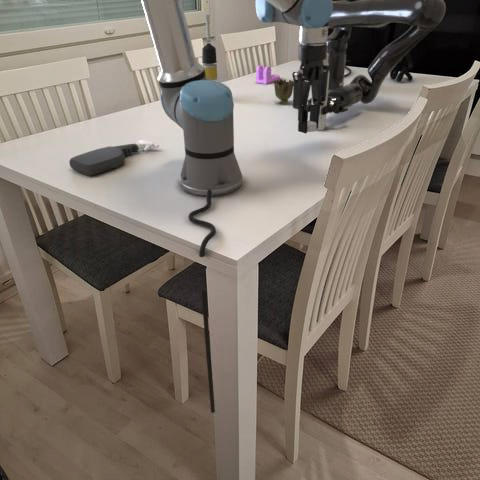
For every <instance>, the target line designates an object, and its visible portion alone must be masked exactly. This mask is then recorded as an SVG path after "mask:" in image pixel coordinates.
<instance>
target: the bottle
mask: <svg viewBox="0 0 480 480" xmlns="http://www.w3.org/2000/svg"><path fill="white" fill-rule="evenodd" d="M328 56H329V54H328V53H327V56H326V59H325V60H323V63H324V65H328V66H329V63H328ZM329 72H330V71H329ZM329 72H328V78H327V90H326V100H325V102H322V103H324V105H323V106H320V114H319V122H318V129H316V131H324V130H325V129H326V120H327V114H325V115H321V108H322V107H325V106H327V98H328V86H329V75H330V74H329ZM321 97H322V96H321ZM312 105H314V104H313V102H312Z"/></svg>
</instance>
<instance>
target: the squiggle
mask: <svg viewBox="0 0 480 480" xmlns="http://www.w3.org/2000/svg"><path fill="white" fill-rule="evenodd" d="M406 62H407V65H408V66H407V67H405V66H404V65H405V64H406ZM413 68H414V64H413V61H412V57H411V54H410V53H409V52H408V53H407V54H406V55H405V56H404V57H403V58H402V59H401V60H400V61H399V62H398V63H397V64H396V65H395V67H394V68H393V69H392V70H391V72H390V73H389V78H390V79H391V80H395V79H396V81H397V82H399V83H400V82H402V81H403V79H404V76H406V78H407V80H408V81H412V80H413V79H414V77H413V75H412V74H411V73H410V72H409V71H410V70H412V69H413ZM400 70H401V71H400Z"/></svg>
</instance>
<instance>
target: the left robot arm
mask: <svg viewBox="0 0 480 480" xmlns="http://www.w3.org/2000/svg"><path fill="white" fill-rule="evenodd" d="M332 1H333V0H255V13H256V16H257V18H258V21H260V22H261V23H265V24H266V23H268V24H269V23H270V24H273V23H283V24H288V25H291V26H293V25H294V26H296V27H297V26H298V27H299V28H298V43H299V45H298V52H297V58H298V60H299V61H300V66H299V70H297V71H293V72H292V73H291V75H292V80H293V82H294V84H293V91H292V108H293V109H295V110H297V121H298V122H297V123H298V124H297V125H298V126H297V132H299V133H303V134H307V133H308V132H307V123H308V121H313V122H316V129H318V122H319V114H320V106H323V105H324V103H322V102H325V100H326V90H327V78H328V72H329V68H330V66H328V65H324V63H323V60H325V59H326V56H327V45H326V44H325V43H326V42H327V40H328V36H329V28H328V25H329V19H330V17H331V15H332V10H333V3H332ZM140 2H141V4H142V7H143V11H144V14H145V18H146V21H147V24H148V28H149V31H150V35H151V39H152V41H153V44H154V48H155V49H154V50H155V52H156V56H157V59H158V62H159V66H160V69H161V71H160V73H159V75H158V76H157V81H158V84H159V88H160V101H161V107H162V109H163V111H164V113H165V114H166V116H167V117H168V118H169V119H170V120H172V121H173V122H174V123H175V124H177V126H179V127H180V128H181V129H182V131H183V143H184V154H185V155H184V158H183V164H182V168H181V171H180V176H179V183H180V184H179V185H180V188H181V189H182V191H184V192H186V193H187V194H190V195H194V196H199V197H206V204H205V205H204V206H202V207H200V208H198V209H194V210H192V211H190V212H189V214H188V221H190V222H191V223H193V224H195V225H200V226H203V227H206V228H208V229H210V232H209V233H208V234H207V235H205V237H204V238H203V239H202V241H201V244H200V247H199V255H198V256H199V257H200V258H204V257H205V255H206V254H205V253H206V247H207V244H208V243H209V242H210V240H211V239H212V238H214V236H215V235H216V233H217V229H216V227H215V225H214V224H212V223H210V222H209V221H205V220H201V219H198V218H196V217H195V216H196V215H198V214H202V213H204V212H206V211H208V210H209V209H210V208H211V206H212V197H221V196H224V195H229V194H232V193H234V192H235V191H237V190H239V189H240V188H241V187H242V185H243V174H242V171H241V168H240V165H239V163H238V160H237V157H236V154H235V132H234V131H235V130H234V127H235V126H234V122H235V121H234V109H235V104H234V100H233V93H232V90H231V88H230V87H229V86H227V85H226V84H225V83H222V82H219V81H215V80H212V81H210V80H207V78H206V74H205V70H204V67H203V64H201V63H200V62H198V61H197V59H196V55H195V51H194V45H193V42H192V38H191V34H190V30H189V27H188V21H187V18H186V14H185V10H184V6H183V1H182V0H141V1H140ZM214 81H215V82H214ZM310 91H311V98H312V102H313V104H314V105H310V112H308V110H306V108H307V105H308V100H309V98H310V97H309V96H310ZM321 96H322V97H321ZM201 302H202V303H201V304H202V317H203V318H202V319H203V329H204V330H203V332H204V344H205V355H206V357H205V358H206V366H207V368H206V369H207V380H208V381H207V382H208V392H209V404H210V405H209V406H210V413H211V414H214V413H216V407H215V405H216V404H215V391H214V380H213V367H212V354H211V353H212V351H211V340H210V325H209V309H208V293H207V291H205V290H204V289H201Z"/></svg>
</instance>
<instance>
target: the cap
mask: <svg viewBox="0 0 480 480" xmlns="http://www.w3.org/2000/svg"><path fill="white" fill-rule="evenodd" d="M316 131H317V130H316V122H313V121H310V120H308V123H307V133H312V132H316Z"/></svg>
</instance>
